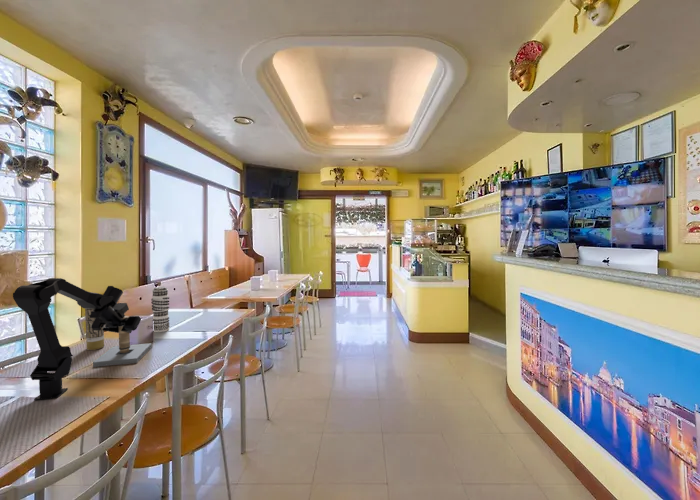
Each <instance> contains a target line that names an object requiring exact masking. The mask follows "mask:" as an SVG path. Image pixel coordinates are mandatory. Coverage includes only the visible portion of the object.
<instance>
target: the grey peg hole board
mask: <svg viewBox="0 0 700 500" xmlns="http://www.w3.org/2000/svg"><path fill="white" fill-rule="evenodd" d="M152 347H153V345H152V343H151V342H150V343H140V344H130V348H129V352H127V353H120V349H119V345H114V346H113V347H111V348H109V349H108V350H107V351H106V352H104V353H103V354H102V355H100V356H99V357H98V358H97V359H95V360H93V361H92V367H93V368H96V367H107V366H116V365H128V364H138V363H139V362H140V360H141V359H142V358H143V357H144V356H145V355H146V354H147V353H148V352H149V351H150V350H151V349H152Z"/></svg>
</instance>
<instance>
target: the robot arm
mask: <svg viewBox="0 0 700 500" xmlns="http://www.w3.org/2000/svg"><path fill="white" fill-rule="evenodd" d="M123 293H124V291H123V290H122V289H120V288H118V287H114V286H113V285H108V286H107V287H106V289H105V291H104V293H98V292H93V291H92V292H90V291H87V290H85V289H83V288H81V287H79V286H78V285H75V284H73V283H71V282H69V281H67V280H66V279H65V278H63V277H62V278H61V277H60V278H59V277H55V278H54V277H51V278H48V279H44V280H42V281H37V282H34V283H30V284H27V285H24V284H23V285H20V286H18V287H17V288H16V289H14V292H13V293H12V298H13V301H14V302H15V304H16V305H17V307H18V308H19V309H21V310H22V312H24V313H26V314H27V316H28V318H29V322H30V325H31V328H32V330H33V333H34V336H35V338H36V342H37V344H38V348H39V352H40V353H38V356H37V364H36V366H35V367H34V369H33V371H32V372H31V373H30V375H29V377H30V379H31V380H32V381H37V380H38V384H39V388H38V389H39V394H38V395H37V396H35V398H34V399H33V400H34V401H40V400H41V401H42V400H50V399H57V398H59V397H60V396H61V395H62V394H64V393H65V392H66V391H68V387H64V388H63V378H65V377H66V376H69V374H70V370H71V367H72V363H73V358H72V357H73V354H72V352H71V347H70V346H69V345H67V346H66V345H65V346H62V345H61V344H60V341H59V339H58V335H57V332H56V329H55V326H54V323H53V319H52V317H51V314H50V311H49V307H50V304H51V302H52V297H54V296H56V295H57V294H60V295H62V296H64V297H66V298H69V299H70V300H74V301H75V302H76V303H77V305H78V306H79V307H81V308H82V309H84V310H85V309H93V311H91V314H90V318H96V319H95V320H94V322H93V323H92V325H91V328H92V329H93V330H101V328H103V331H104V332H109V333H117V334H119V326H123V328H122V330H121V331H123V332H127V333H130V334H132V332H134V331H136V330H137V328H138V327H139V324H140V322H141V321H142V317H140V315H129V318H125V319H122V318H124V316H126V315H125V314H126V312H128V311H129V308H130V307H129V306H128V303H127V302H119V300H120V299H121V297H122V296H123ZM100 327H101V328H100Z"/></svg>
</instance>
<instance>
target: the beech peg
mask: <svg viewBox="0 0 700 500" xmlns="http://www.w3.org/2000/svg"><path fill="white" fill-rule="evenodd" d="M129 317H130V315H125V316H124V318H122V319H125V318H129ZM122 328H123V326H119V333H118V346H119V349H120V353H127V352H129V348H130V345H131V341H130V339H131V335H130V334H131V333H127V332H123V331H121V330H122Z"/></svg>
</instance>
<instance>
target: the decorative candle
mask: <svg viewBox="0 0 700 500" xmlns="http://www.w3.org/2000/svg"><path fill="white" fill-rule="evenodd" d="M151 291H152V298H151V299H150V300H151V307H152V308H151V310H152V319H153V320H152V322H153V321H154V323H153V324H154V332H153V333H163V332H167V331H169V330H170V327H171V326H170V316H169V310H170V306H169V305H170V303H169V302H170V300H169V299H170V296H169V294H168V293H169V289H168V288H167V287H166V286H157V287H156V286H155V287H154V288H153V289H152V290H151Z"/></svg>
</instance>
